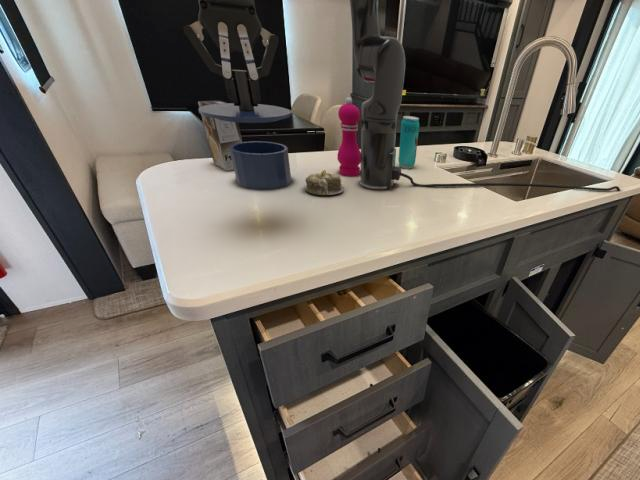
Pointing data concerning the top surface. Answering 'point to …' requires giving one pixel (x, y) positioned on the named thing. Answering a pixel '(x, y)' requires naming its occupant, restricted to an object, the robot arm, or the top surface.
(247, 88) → the lid
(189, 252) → the top surface
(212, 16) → the robot arm
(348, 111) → the pepper mill
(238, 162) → the tin
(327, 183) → the cake
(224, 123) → the coffee box
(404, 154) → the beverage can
